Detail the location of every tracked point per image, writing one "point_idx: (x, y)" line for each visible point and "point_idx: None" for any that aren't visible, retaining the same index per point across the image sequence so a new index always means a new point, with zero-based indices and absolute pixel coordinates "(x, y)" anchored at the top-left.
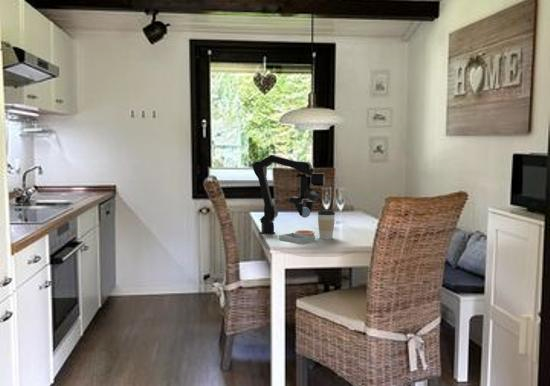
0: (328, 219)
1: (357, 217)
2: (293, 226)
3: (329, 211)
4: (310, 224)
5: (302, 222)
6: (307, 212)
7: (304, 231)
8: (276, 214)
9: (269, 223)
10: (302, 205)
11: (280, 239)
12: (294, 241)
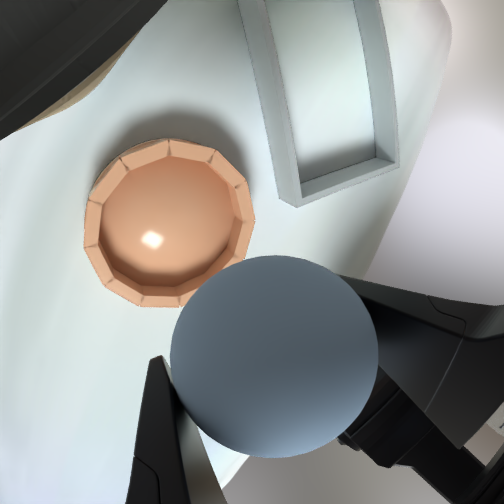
0: None
1: None
2: (114, 467)
3: None
4: (31, 479)
5: (60, 501)
6: (299, 271)
7: (141, 290)
8: (368, 404)
9: None
10: (501, 322)
11: (380, 149)
12: (370, 39)
